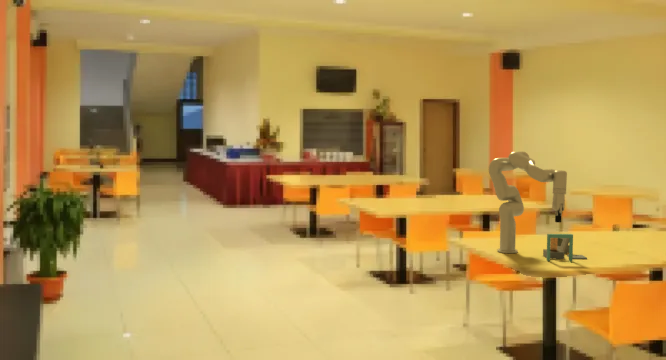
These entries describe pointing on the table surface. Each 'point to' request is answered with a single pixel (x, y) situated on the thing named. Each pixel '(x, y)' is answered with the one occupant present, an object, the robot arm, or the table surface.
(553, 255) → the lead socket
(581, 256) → the mat
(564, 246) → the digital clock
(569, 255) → the green arch
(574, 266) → the table surface
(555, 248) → the cylinder
